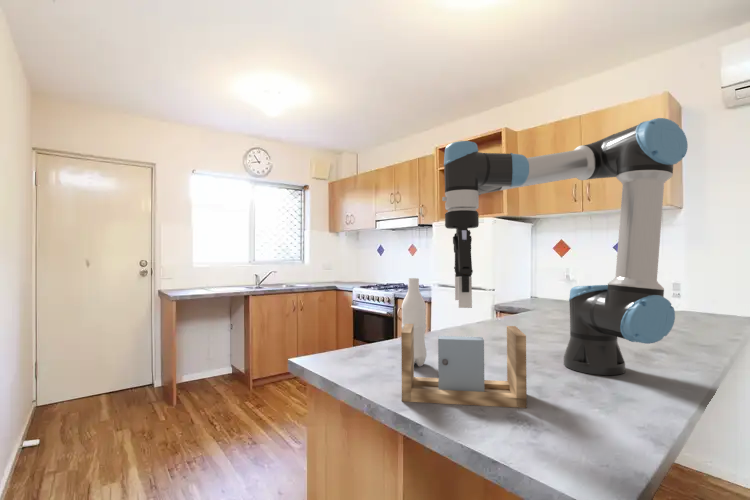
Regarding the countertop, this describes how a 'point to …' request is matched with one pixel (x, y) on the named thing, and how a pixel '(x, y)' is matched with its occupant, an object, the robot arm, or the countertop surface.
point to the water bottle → (415, 318)
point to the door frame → (493, 395)
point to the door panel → (461, 363)
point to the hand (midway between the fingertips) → (462, 303)
